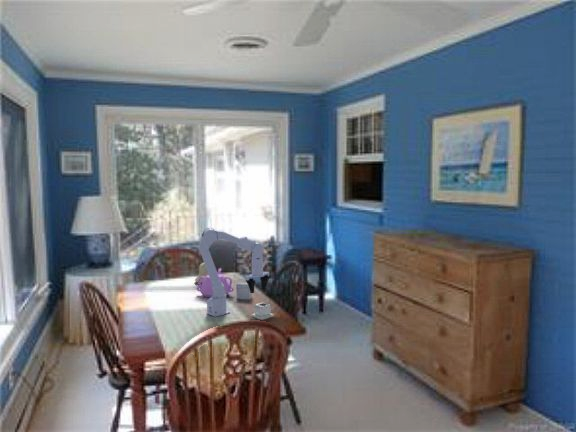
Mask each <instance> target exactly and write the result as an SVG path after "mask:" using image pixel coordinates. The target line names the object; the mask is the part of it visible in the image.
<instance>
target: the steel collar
mask: <svg viewBox="0 0 576 432" xmlns="http://www.w3.org/2000/svg"><path fill="white" fill-rule="evenodd" d="M261 305H264V306H261ZM271 310H272V309H271V304H269V303H267V302H260V303H256V304H254V314H255V315H258V316H261V317H263V316H267V315H270V314H272V313H271Z"/></svg>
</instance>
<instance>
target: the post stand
mask: <svg viewBox="0 0 576 432" xmlns="http://www.w3.org/2000/svg"><path fill="white" fill-rule="evenodd" d="M261 306H264V305H261ZM250 316H251V317H252V318H255V319H257V320H259V321H260V320H261V321H264V320H266V319H270V318H273V317H275V313H271V314H270V315H267V316H263V317H261V316H258V315H255V313H252V314H251V315H250Z"/></svg>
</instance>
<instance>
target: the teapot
mask: <svg viewBox="0 0 576 432" xmlns="http://www.w3.org/2000/svg"><path fill="white" fill-rule="evenodd" d="M217 273H218V276H219V279H220V281H221V282H222V283H223V284H224V287H225V289H226V293H225V294H226V296H227V295H228V294H229V293H231V292H234V287H232V284H233V279H232V277H231V276H224V275H223V274H222V268H221V267H220V268H218V270H217ZM201 278H204V280H203V282H202V283H200V279H201ZM227 279H228V280H229V282H228V280H227ZM197 283H198V284H197V285H198V286H197V287H196V291H198V292H200V294H201V295H202V296H203V297H205V298H208V299H209V298H211V297H212V295H213V290H212V282H211V280H210V277H209V275H207V276H206V277H204V276H201V277H199V278H198V282H197Z"/></svg>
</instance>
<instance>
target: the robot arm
mask: <svg viewBox="0 0 576 432" xmlns="http://www.w3.org/2000/svg"><path fill="white" fill-rule="evenodd" d="M221 240H225V241H228V242H231V243H233V244H236V245H237V247H238V248H240V249H243V251H246V252H251V274H248V275H245V283H247V284H248V286H249V289H250V292H251V293H252V294H254V293H255V284H256V280H254V279H260V284H261V286H260V287H261V290H262V291H266V290H267V289H266V288H267V285H268V283H269V281H270V271H264V257H263V254H264V251H265V248H264V246H263V245H262V244H261V243H260V242H259V241H257V240H251V239H249V238H248V237H247V236H242V237H237V236H235V235H233V234H230V233H227V232H225V231H223V230H221V229H217V228H213V227H207V228H205V229H204V230H203V231H202V234H201V237H200V240H199V245H198V250H199V252H200V255H201V258H202V261H203V263H205V266H206V269H207V271H208V274H209V277H210V280H211V282H212V290H213V295H212V297H211V298H209V297H208V299H207V301H206V306H207V307H206V311H207V312H206V314H207V315H208V316H212V317H214V318H217V317H219V316H223V315H228V314H230V313H231V311H229V310H227V295H226V294H225V293H226V289H225V287H224V284H223V283H222V282H221V281H220V279H219V276H218V273H217V272H218V270H217V267H216V265H215V263H214V261H213V257H212V254H211V251H210V248H211V247H212V244H213V243H214V242H215V241H221Z"/></svg>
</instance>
